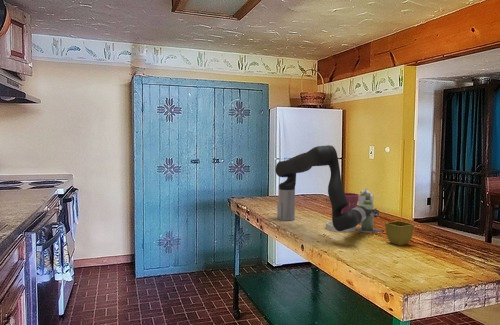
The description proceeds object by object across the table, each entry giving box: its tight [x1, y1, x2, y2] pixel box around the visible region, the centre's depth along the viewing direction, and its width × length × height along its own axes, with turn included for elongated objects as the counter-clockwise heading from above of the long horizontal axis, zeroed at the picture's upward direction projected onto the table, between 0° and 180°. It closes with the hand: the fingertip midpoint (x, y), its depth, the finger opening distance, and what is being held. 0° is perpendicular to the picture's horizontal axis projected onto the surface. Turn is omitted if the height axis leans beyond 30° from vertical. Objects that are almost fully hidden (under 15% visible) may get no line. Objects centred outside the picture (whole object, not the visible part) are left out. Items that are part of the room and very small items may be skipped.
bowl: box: [325, 220, 357, 233], centre depth 191 cm, size 14×14×3 cm
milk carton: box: [357, 187, 374, 207], centre depth 207 cm, size 7×7×19 cm
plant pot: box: [341, 192, 360, 214], centre depth 228 cm, size 14×14×13 cm
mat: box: [355, 226, 384, 234], centre depth 189 cm, size 11×11×1 cm
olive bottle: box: [360, 192, 375, 231], centre depth 189 cm, size 6×6×18 cm
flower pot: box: [384, 220, 415, 246], centre depth 165 cm, size 9×9×9 cm
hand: (369, 209), depth 191 cm, fingers open, 6 cm apart
